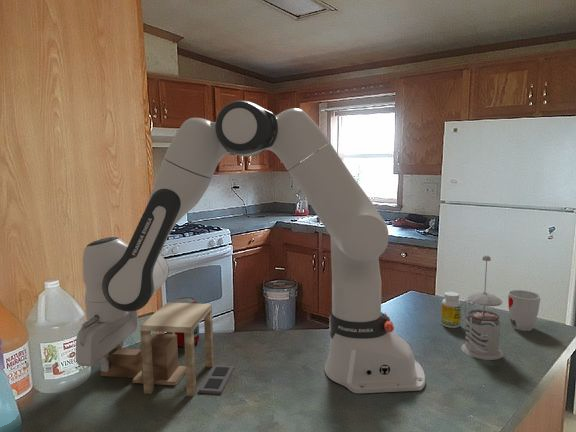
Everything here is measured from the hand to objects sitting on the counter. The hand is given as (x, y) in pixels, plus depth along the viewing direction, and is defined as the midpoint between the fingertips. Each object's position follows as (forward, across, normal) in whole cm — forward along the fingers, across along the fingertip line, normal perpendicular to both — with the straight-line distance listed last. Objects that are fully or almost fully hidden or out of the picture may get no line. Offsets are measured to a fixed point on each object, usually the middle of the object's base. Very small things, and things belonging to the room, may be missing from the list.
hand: (111, 365), depth 97 cm
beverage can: (+2, +18, -11) cm, 21 cm away
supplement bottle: (+2, +38, -85) cm, 94 cm away
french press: (+2, +22, -88) cm, 91 cm away
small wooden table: (+2, 0, -17) cm, 17 cm away
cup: (+2, +38, -105) cm, 112 cm away
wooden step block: (+2, 0, -7) cm, 8 cm away
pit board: (+2, 0, -25) cm, 25 cm away
